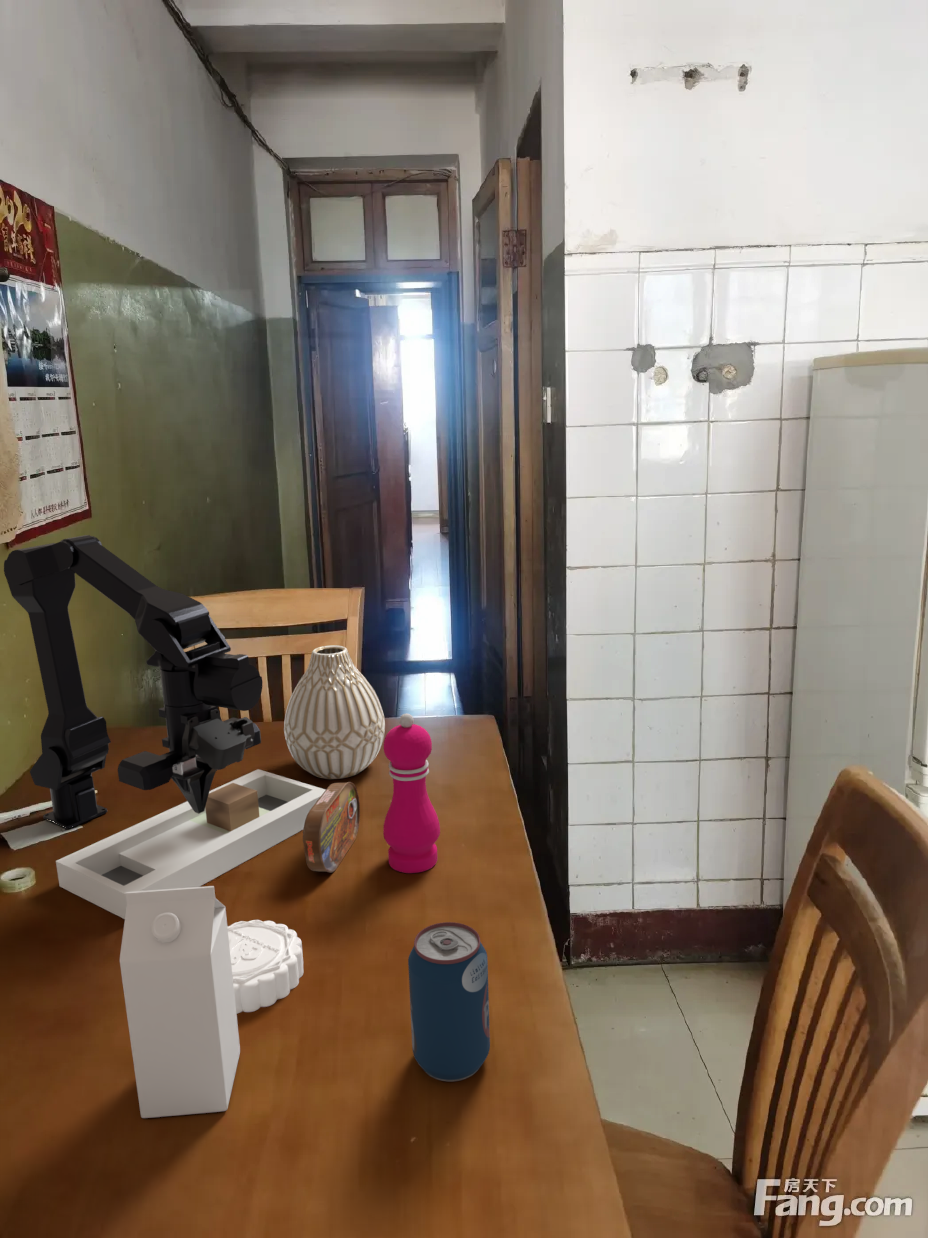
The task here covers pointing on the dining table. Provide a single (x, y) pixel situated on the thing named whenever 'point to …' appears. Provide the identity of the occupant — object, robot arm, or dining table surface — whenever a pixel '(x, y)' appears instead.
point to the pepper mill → (410, 799)
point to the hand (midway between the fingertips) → (199, 812)
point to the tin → (331, 827)
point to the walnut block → (232, 806)
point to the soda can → (449, 1001)
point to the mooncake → (263, 962)
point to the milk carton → (179, 1000)
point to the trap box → (185, 845)
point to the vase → (333, 717)
